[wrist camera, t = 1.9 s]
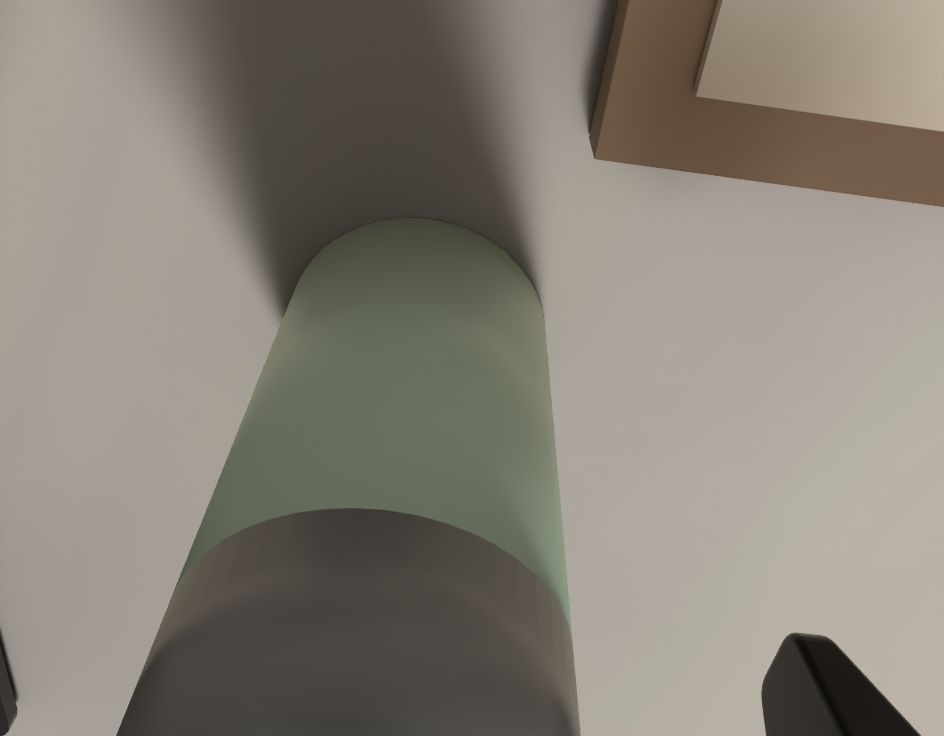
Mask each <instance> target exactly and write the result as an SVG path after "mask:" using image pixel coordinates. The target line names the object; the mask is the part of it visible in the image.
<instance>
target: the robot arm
mask: <svg viewBox="0 0 944 736" xmlns="http://www.w3.org/2000/svg"><path fill="white" fill-rule="evenodd" d="M762 707H763V715H764V723H765V730H766V736H921V735H920V734H919V733H918V732H917V731H916V730H915V729H914V728H913V726H912V725H911V724H910V723H909V722H908V721H907V720H906V719H905V718H904V717H903V716H902V715H901V714H900V712H899V711H898V710H897V709H896V708H895V707H894V706H893V705H892V704H891V703H890V702H889V701H888V700H887V698H886V697H885V696H884V695H883V694H882V693H881V692H880V691H879V690H878V689H877V688H876V687H875V686H874V684H873V683H872V682H871V681H870V680H869V679H868V678H867V677H866V676H865V675H864V674H863V673H862V672H861V670H860V669H859V668H858V667H857V666H856V665H855V664H854V663H853V662H852V661H851V660H850V659H849V658H848V656H847V655H846V654H845V653H844V652H843V651H842V650H841V649H840V648H839V647H838V646H837V645H836V644H835V643H834V642H833V641H832V640H831V639H829V638H827V637H825V636H821V635H813V634H803V633H791V634H789V635H788V636H787V637H786V638H785V639H784V641H783V642H782V644H781V646H780V648H779V650H778V652H777V654H776V656H775V658H774V660H773V662H772V664H771V666H770V668H769V670H768V672H767V673H766V675H765V678H764V681H763V685H762ZM16 716H17V706H16V702H15V699H14V695H13V691H12V688H11V684H10V680H9V677H8V673H7V669H6V666H5V662H4V658H3V655H2V651H1V647H0V736H3V735H5V734H6V733H7V732H8V731H9V729H10V727H11V725H12V724H13V722H14V720H15V718H16Z"/></svg>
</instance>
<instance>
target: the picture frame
mask: <svg viewBox="0 0 944 736" xmlns="http://www.w3.org/2000/svg"><path fill="white" fill-rule="evenodd" d="M589 139H590V143H591V147H592V151H593V155H594V159H599V160H606V161H613V162H621V163H628V164H635V165H642V166H650V167H657V168H664V169H672V170H679V171H686V172H693V173H701V174H708V175H715V176H723V177H730V178H737V179H744V180H752V181H759V182H766V183H773V184H781V185H788V186H795V187H803V188H810V189H817V190H824V191H832V192H839V193H846V194H854V195H861V196H868V197H875V198H883V199H890V200H897V201H904V202H912V203H919V204H926V205H934V206H941V207H944V0H618V4H617V9H616V14H615V18H614V23H613V28H612V32H611V37H610V42H609V46H608V51H607V56H606V61H605V65H604V70H603V75H602V79H601V84H600V89H599V93H598V98H597V103H596V107H595V112H594V117H593V121H592V126H591V131H590V136H589Z"/></svg>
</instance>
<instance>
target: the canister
mask: <svg viewBox="0 0 944 736" xmlns="http://www.w3.org/2000/svg"><path fill="white" fill-rule="evenodd" d="M116 736H581V735H580V724H579V712H578V701H577V689H576V678H575V666H574V655H573V643H572V632H571V620H570V609H569V597H568V586H567V574H566V563H565V551H564V540H563V528H562V517H561V505H560V494H559V482H558V471H557V459H556V448H555V436H554V425H553V413H552V402H551V390H550V379H549V367H548V356H547V344H546V333H545V322H544V317H543V311H542V307H541V304H540V301H539V298H538V295H537V293H536V291H535V289H534V287H533V285H532V283H531V281H530V280H529V278H528V277H527V275H526V274H525V273H524V271H523V270H522V268H521V267H520V266H519V265H518V264H517V263H516V262H515V261H514V260H513V259H512V258H511V256H510V255H508V254H507V253H506V252H505V251H504V250H502V249H501V248H500V247H499V246H497V245H496V244H494V243H493V242H491V241H490V240H488V239H486V238H485V237H483V236H482V235H480V234H477V233H475V232H473V231H471V230H469V229H467V228H464V227H461V226H458V225H455V224H452V223H448V222H443V221H438V220H433V219H424V218H395V219H389V220H383V221H377V222H374V223H370V224H367V225H364V226H361V227H358V228H356V229H354V230H352V231H350V232H347V233H345V234H343V235H342V236H340V237H339V238H337V239H335V240H334V241H332V242H331V243H329V244H328V245H327V246H326V247H325V248H324V249H322V250H321V251H320V252H319V253H318V254H317V255H316V256H315V257H314V259H313V260H312V261H311V262H310V263H309V264H308V266H307V267H306V269H305V270H304V272H303V273H302V275H301V277H300V278H299V281H298V283H297V285H296V288H295V290H294V292H293V295H292V297H291V300H290V302H289V305H288V307H287V310H286V312H285V315H284V317H283V320H282V322H281V325H280V327H279V330H278V332H277V335H276V337H275V340H274V342H273V345H272V347H271V350H270V352H269V355H268V357H267V360H266V362H265V365H264V367H263V370H262V372H261V375H260V377H259V380H258V382H257V385H256V387H255V390H254V392H253V395H252V397H251V400H250V402H249V405H248V407H247V410H246V412H245V415H244V417H243V420H242V422H241V425H240V427H239V430H238V432H237V435H236V437H235V440H234V442H233V445H232V447H231V450H230V452H229V455H228V458H227V460H226V463H225V465H224V468H223V470H222V473H221V475H220V478H219V480H218V483H217V485H216V488H215V490H214V493H213V495H212V498H211V500H210V503H209V505H208V508H207V510H206V513H205V515H204V518H203V520H202V523H201V525H200V528H199V530H198V533H197V535H196V538H195V540H194V543H193V545H192V548H191V550H190V553H189V555H188V558H187V560H186V563H185V565H184V568H183V570H182V573H181V575H180V578H179V580H178V583H177V585H176V588H175V590H174V593H173V595H172V598H171V600H170V603H169V605H168V608H167V610H166V613H165V615H164V618H163V620H162V623H161V625H160V628H159V630H158V633H157V635H156V638H155V640H154V643H153V645H152V648H151V650H150V653H149V655H148V658H147V660H146V663H145V665H144V668H143V670H142V673H141V675H140V678H139V680H138V683H137V685H136V688H135V690H134V693H133V695H132V698H131V700H130V703H129V705H128V708H127V710H126V713H125V715H124V718H123V720H122V723H121V725H120V728H119V730H118V733H117V735H116Z"/></svg>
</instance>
